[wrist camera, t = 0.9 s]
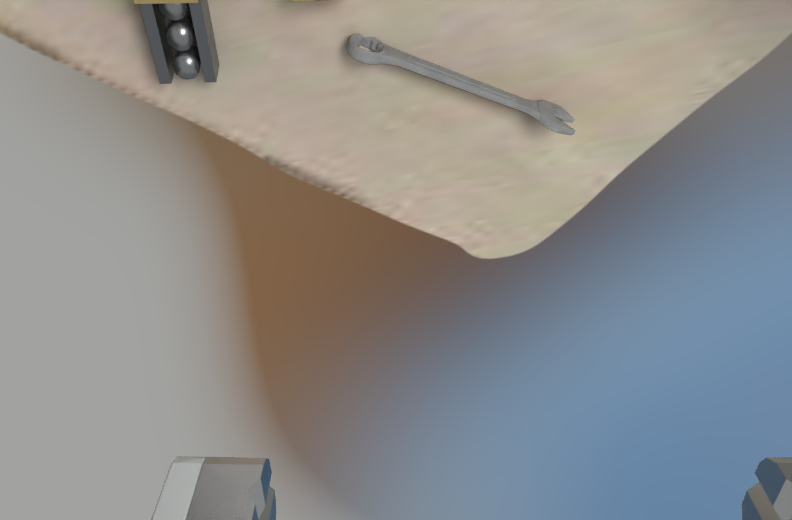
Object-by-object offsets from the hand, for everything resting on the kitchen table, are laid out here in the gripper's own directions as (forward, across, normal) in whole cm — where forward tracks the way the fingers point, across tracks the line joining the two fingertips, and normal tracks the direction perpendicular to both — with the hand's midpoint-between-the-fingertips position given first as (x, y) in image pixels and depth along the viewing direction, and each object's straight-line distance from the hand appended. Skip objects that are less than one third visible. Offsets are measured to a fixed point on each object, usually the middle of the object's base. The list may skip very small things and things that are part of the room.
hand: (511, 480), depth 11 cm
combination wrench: (+45, -3, +8) cm, 46 cm away
